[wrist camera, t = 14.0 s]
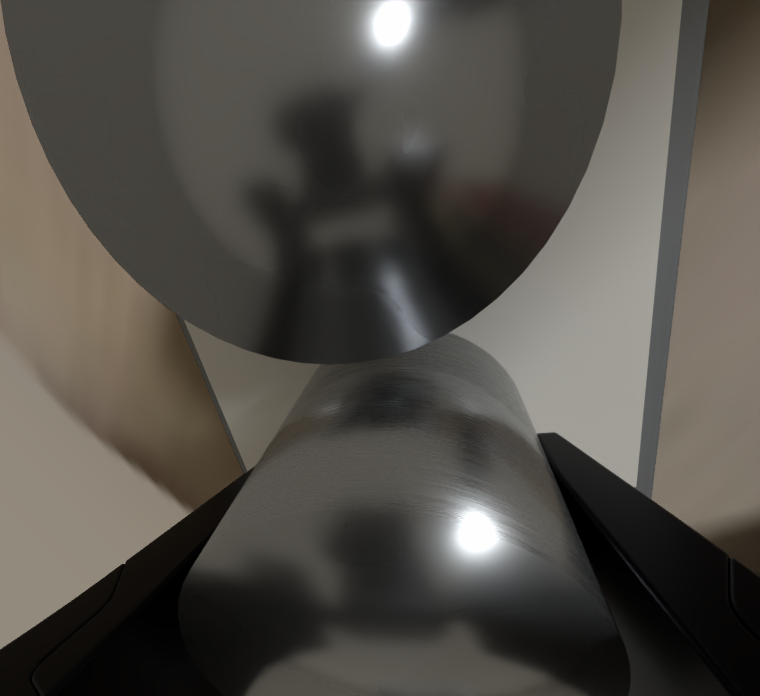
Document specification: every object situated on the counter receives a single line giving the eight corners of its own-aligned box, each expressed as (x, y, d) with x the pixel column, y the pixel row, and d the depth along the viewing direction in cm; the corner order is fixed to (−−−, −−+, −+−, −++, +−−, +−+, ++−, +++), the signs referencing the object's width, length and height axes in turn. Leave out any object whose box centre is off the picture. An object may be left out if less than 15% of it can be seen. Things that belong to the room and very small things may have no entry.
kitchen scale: (666, -133, 8) (868, -410, 4) (620, 483, 14) (685, 584, 11) (118, 52, 11) (-48, -19, 7) (287, 499, 17) (248, 584, 13)
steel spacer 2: (518, 308, 8) (650, 495, 3) (531, 506, 10) (619, 795, 5) (274, 344, 9) (99, 520, 4) (332, 515, 11) (259, 758, 6)
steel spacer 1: (439, -105, 6) (494, -852, 2) (531, 208, 8) (673, 250, 4) (191, 74, 8) (-135, -73, 3) (319, 304, 10) (231, 419, 5)
